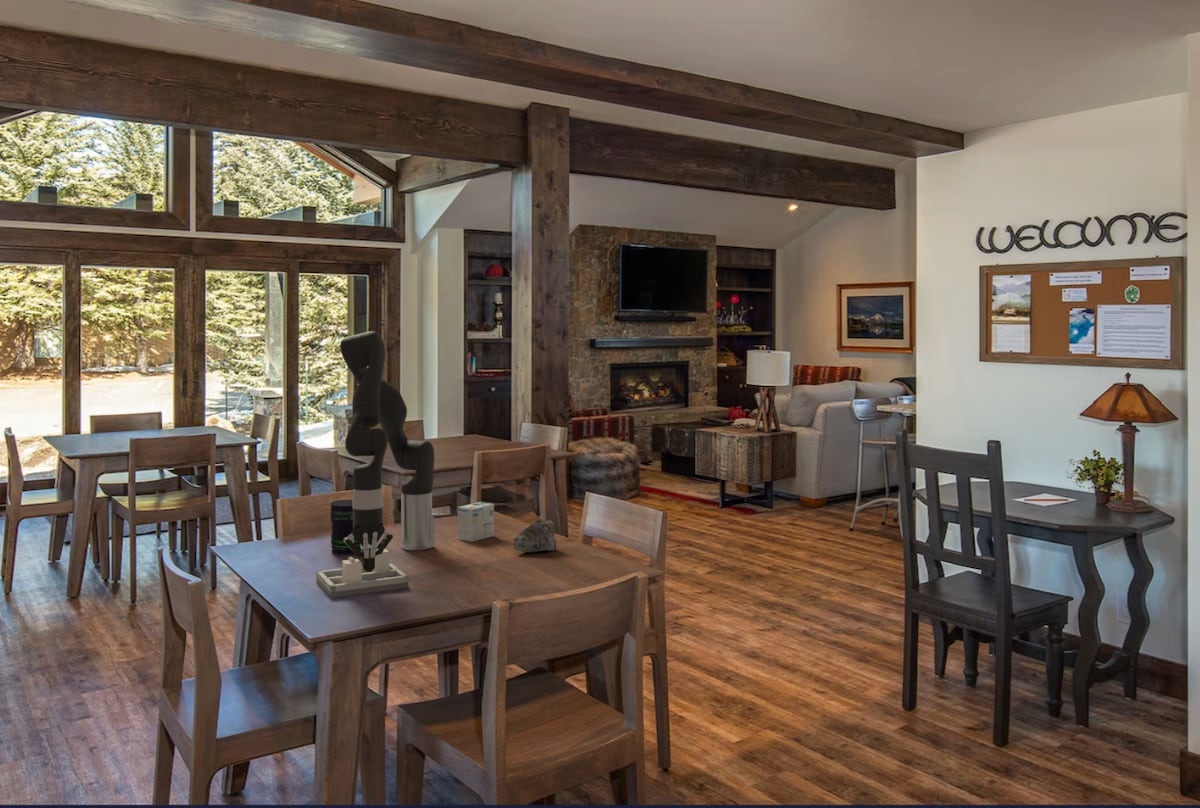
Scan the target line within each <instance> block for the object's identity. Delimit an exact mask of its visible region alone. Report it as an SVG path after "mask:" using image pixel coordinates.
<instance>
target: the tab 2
mask: <svg viewBox="0 0 1200 808" xmlns="http://www.w3.org/2000/svg"><path fill="white" fill-rule="evenodd" d="M389 563H390V551H389V550H388V549H386V548H385V549H384V551H383V552H382V553H381V554H379V555H377V556H375V568H374V569H373V572H377V571H385V570H389Z"/></svg>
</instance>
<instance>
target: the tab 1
mask: <svg viewBox="0 0 1200 808" xmlns="http://www.w3.org/2000/svg"><path fill="white" fill-rule="evenodd" d="M347 558H348V559H346V560H341V569H342V584H343V583H351V582H359V581H362V566H363V563H362V561H361V560H359V559H358V558H354V557H352V556H348V557H347Z"/></svg>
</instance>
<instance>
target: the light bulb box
mask: <svg viewBox="0 0 1200 808" xmlns="http://www.w3.org/2000/svg"><path fill="white" fill-rule="evenodd" d="M494 536H495V505H494V503H489V502H488V503H487V502H483V501H478V502H474V503H471V504H465V505H462V506H457V539H458V540H460V541H466V542H468V543H469V542H470V543H473V542H476V541H477V542H478V541H480V540H484V539H488V538H492V537H494Z"/></svg>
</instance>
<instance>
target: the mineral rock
mask: <svg viewBox="0 0 1200 808" xmlns="http://www.w3.org/2000/svg"><path fill="white" fill-rule="evenodd" d="M555 534H556V531H555V523H554V522H553V521H552V520H544V519H542V518H537V519H535V520H534V521H533V522H532V523H531V524H530V525H529V526H527V527H526V528H524V529H523V530H522V531H520V533H519V534H518V535H516V536H515V537H514V538H513V540H512V541H513V545H512V547H513V549H514V551H517V552H523V553H526V552H527V553H538V552H541V551H543V552H544V551H549V552H553V551H556V550H557V539H556V537H555Z"/></svg>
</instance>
